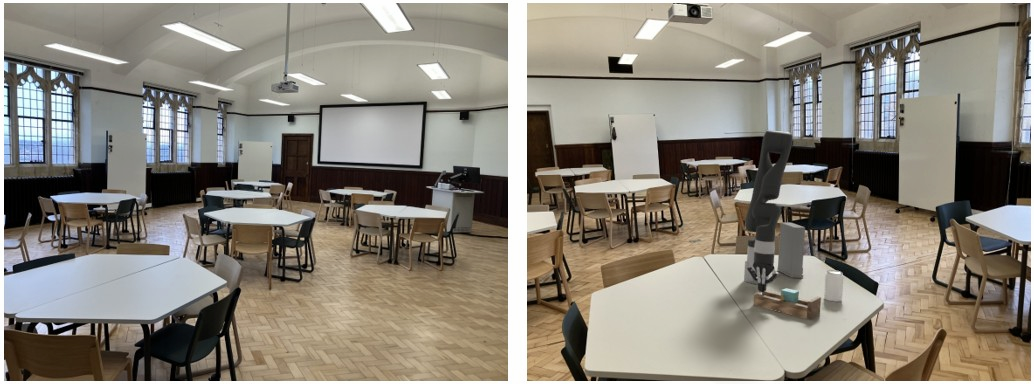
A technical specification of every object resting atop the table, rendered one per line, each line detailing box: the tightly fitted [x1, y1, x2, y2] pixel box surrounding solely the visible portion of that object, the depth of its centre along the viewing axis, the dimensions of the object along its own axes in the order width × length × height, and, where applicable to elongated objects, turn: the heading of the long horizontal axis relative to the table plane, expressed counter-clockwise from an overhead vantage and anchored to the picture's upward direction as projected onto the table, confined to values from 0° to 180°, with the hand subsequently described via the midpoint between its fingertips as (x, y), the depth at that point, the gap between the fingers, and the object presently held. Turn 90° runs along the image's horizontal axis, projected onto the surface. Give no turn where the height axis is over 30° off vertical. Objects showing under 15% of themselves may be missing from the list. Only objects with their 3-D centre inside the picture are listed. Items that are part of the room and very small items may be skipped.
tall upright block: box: [776, 221, 806, 279], centre depth 257 cm, size 14×6×25 cm, turn 179°
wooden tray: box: [752, 290, 822, 321], centre depth 208 cm, size 22×9×7 cm, turn 39°
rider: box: [780, 287, 800, 304], centre depth 206 cm, size 5×4×5 cm
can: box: [823, 269, 845, 303], centre depth 219 cm, size 6×6×12 cm
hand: (762, 291), depth 215 cm, fingers closed
